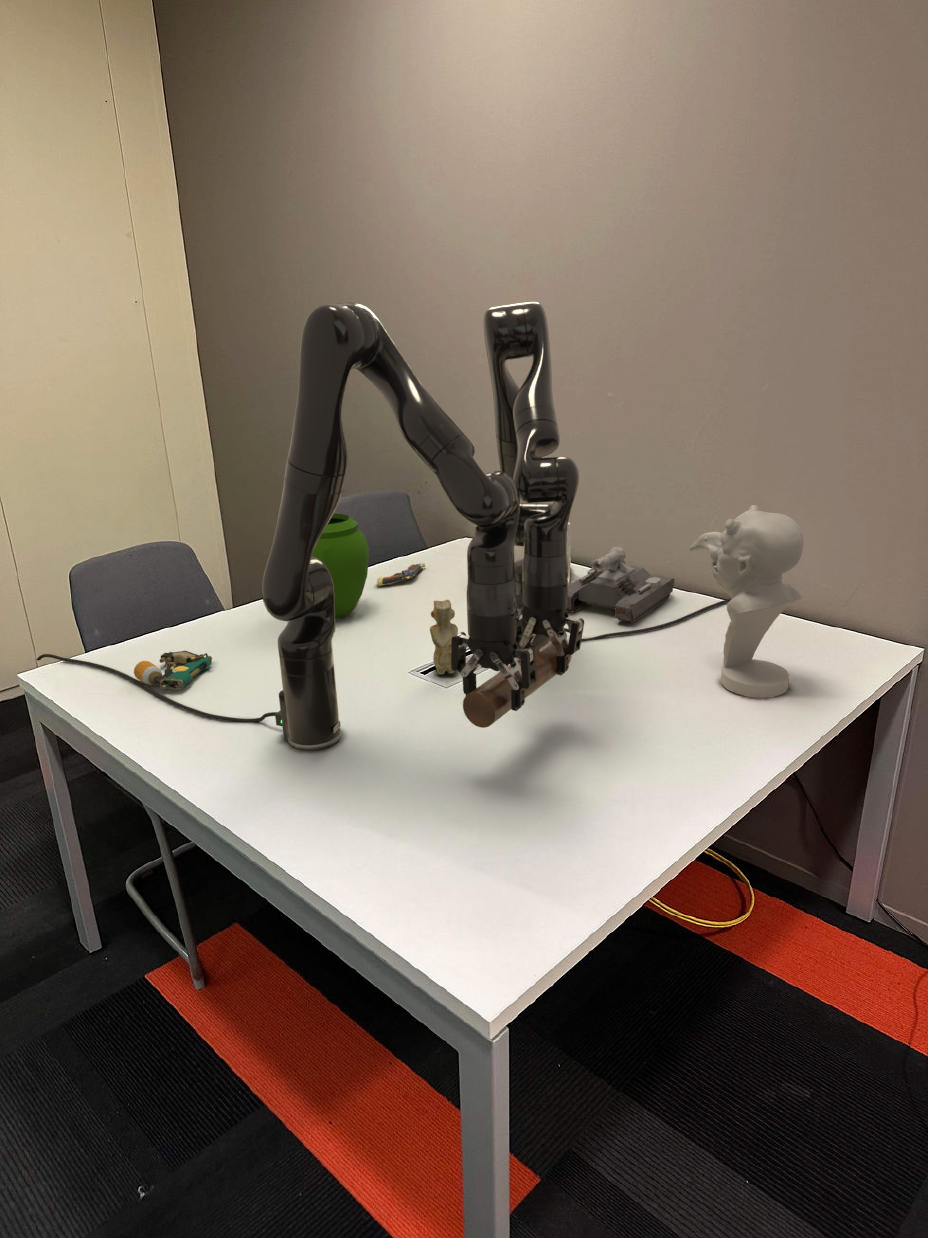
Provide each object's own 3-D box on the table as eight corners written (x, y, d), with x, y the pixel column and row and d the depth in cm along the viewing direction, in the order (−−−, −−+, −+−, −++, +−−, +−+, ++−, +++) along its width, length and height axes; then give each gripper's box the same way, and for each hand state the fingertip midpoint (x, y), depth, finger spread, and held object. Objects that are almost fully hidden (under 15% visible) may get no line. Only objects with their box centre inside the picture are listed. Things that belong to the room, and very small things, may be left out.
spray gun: (177, 659, 191) (231, 671, 185) (120, 684, 176) (176, 698, 171) (176, 641, 190) (230, 653, 184) (118, 665, 175) (174, 678, 169)
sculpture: (458, 662, 183) (456, 596, 178) (460, 676, 176) (457, 608, 171) (431, 663, 183) (428, 597, 177) (431, 677, 176) (428, 609, 171)
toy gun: (374, 578, 232) (409, 575, 230) (392, 563, 250) (425, 560, 247) (376, 588, 232) (411, 585, 230) (394, 572, 250) (427, 569, 248)
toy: (603, 584, 229) (605, 530, 224) (673, 597, 218) (677, 540, 213) (555, 612, 210) (556, 553, 205) (630, 627, 199) (633, 566, 194)
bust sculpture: (721, 647, 187) (735, 489, 174) (811, 688, 167) (833, 512, 154) (664, 663, 180) (674, 499, 167) (750, 707, 160) (769, 525, 147)
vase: (389, 608, 216) (383, 514, 208) (339, 633, 201) (330, 533, 192) (330, 596, 226) (322, 506, 218) (278, 619, 211) (267, 523, 202)
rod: (541, 664, 154) (542, 634, 152) (571, 671, 151) (571, 640, 148) (463, 722, 134) (462, 688, 132) (495, 731, 131) (494, 697, 129)
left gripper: (438, 605, 130) (443, 701, 135) (520, 621, 122) (521, 722, 128) (466, 591, 136) (469, 684, 141) (545, 606, 128) (545, 703, 134)
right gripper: (496, 577, 143) (498, 668, 149) (573, 591, 135) (572, 686, 142) (519, 565, 149) (519, 654, 155) (594, 578, 141) (591, 670, 147)
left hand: (493, 702), depth 135 cm, fingers open, 8 cm apart
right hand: (544, 669), depth 148 cm, fingers closed on rod, 6 cm apart
